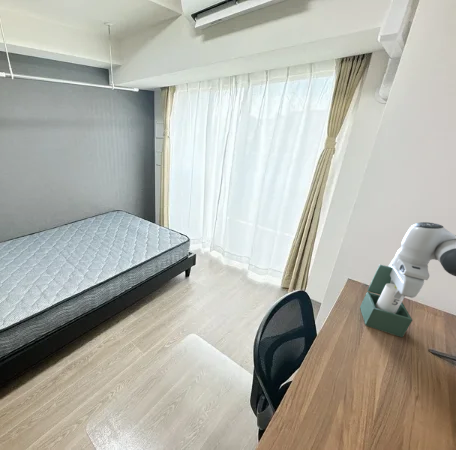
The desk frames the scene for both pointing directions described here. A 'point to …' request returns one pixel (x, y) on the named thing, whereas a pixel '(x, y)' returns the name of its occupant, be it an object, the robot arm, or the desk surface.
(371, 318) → the box
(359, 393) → the desk surface
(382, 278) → the box lid
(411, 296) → the robot arm
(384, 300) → the candle
